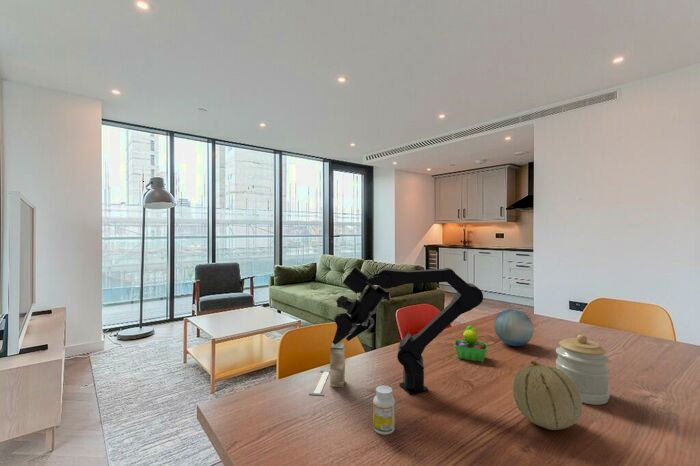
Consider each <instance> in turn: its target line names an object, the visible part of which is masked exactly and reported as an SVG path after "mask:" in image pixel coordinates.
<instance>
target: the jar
mask: <svg viewBox="0 0 700 466" xmlns="http://www.w3.org/2000/svg"><path fill="white" fill-rule="evenodd" d="M558 345H559V346H558V347H556V348H555V352H556V354H557V358H556V359H555V365H556V366H555V367H556V368H558V369H560V370H561V371H563V372H564V373H565V374H566V375H567V376H568V377H569V378H570V379H571V380H572V382H573V383H574V385H575V386H576V388H577V390H578V391H579V394H580V397H581V401H582V404H587V405H594V406H597V405H598V406H601V405H605V404H608V402H609V399H610V373H611V371H610V369H609V367H608V364H609V363H610V362H611V359H610V357H609V356H607V355H606V353H607V350H606V349H605V348H604V347H603V346H601V345H600V343H598V342H596V341H593V340H590V339H588V337H587V336H586V335H585V334H578V335H577V336H576V337H566V338H565V339H562V340H560V341H559V342H558Z"/></svg>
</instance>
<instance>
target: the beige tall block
mask: <svg viewBox="0 0 700 466" xmlns="http://www.w3.org/2000/svg"><path fill="white" fill-rule="evenodd" d="M345 347H346V343H344V342H343V343H341V342H339V343H337V344H336V345H334V344H333V342H332V343H331V345H330V350H329V357H330V358H329V363H330V365H329V369H330V370H329V371H330V373H329V379H330V380H329V386H330V387H336V388H338V387H340V388H344V385H345V379H346V373H345V370H346V368H345V367H346V366H345V365H346V363H345V362H346V360H345V359H346V358H345V357H346V348H345Z"/></svg>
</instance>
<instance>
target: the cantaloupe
mask: <svg viewBox="0 0 700 466" xmlns="http://www.w3.org/2000/svg"><path fill="white" fill-rule="evenodd" d="M511 385H512V394H513V395H512V396H513V399H514V402H515V405H516V407H517V408H518V410H519V412H520V414H521V415H522V416H524V418H526V419H527V420H528V421H529V422H531V423H532V424H534V425H536V426H538V427H541V428H544V429H547V430H549V431H551V430H552V431H555V430H556V431H557V430H563V429H566V428H570V427H572V426H573V425H575V424H576V423H577V422H578V421H579V419H580V418H581V414H582V411H583V403H582V401H581V397H580V394H579V391H578V390H577V388H576V386H575V385H574V383H573V382H572V380H571V379H570V378H569V377H568V376H567V375H566V374H565V373H564V372H563V371H561V370H560V369H558V368H556V366H553V365H551V364H550V365H549V364H543V363H539V362H537V361H534V360H532V361H530V365H527V366H526V365H525V366H524V367H523V368H521V369H519V370H518V372H517V373H516V374H515V376H514V378H513V380H512V384H511Z"/></svg>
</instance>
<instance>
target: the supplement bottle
mask: <svg viewBox="0 0 700 466" xmlns="http://www.w3.org/2000/svg"><path fill="white" fill-rule="evenodd" d="M393 395H394V394H393V388H392V387H390V386H388V385H383V384H382V385H378V386H377V387H376V388H375V396H374V397H373V401H372V405H373V406H372V427H373V430H374V432H376V433H377V434H380V435H382V436H383V435H390V434H393V433H394V432H395V430H396V400H395V398H394V396H393Z"/></svg>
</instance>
